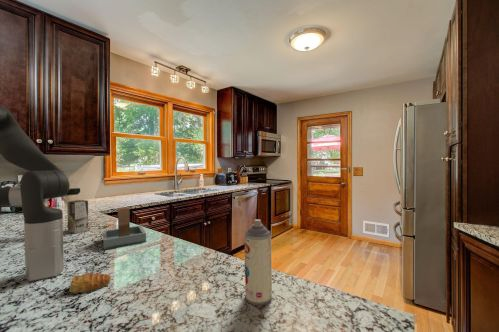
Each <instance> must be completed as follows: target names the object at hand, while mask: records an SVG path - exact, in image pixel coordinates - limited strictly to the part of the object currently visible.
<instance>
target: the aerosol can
mask: <svg viewBox="0 0 499 332" xmlns="http://www.w3.org/2000/svg"><path fill="white" fill-rule="evenodd" d="M253 222H254V223H253V224H252V225H251V226H249V228H247V230H245V232H244V233H245V234H244V278H245V279H244V285H245V286H244V287H245V288H244V289H245V294H244V295H245V301H246V302H248V304H250V305H253V306H260V307H261V306H265V305H267V304H270V302H271V301H272V299H273V298H272V297H273V291H272V289H273V284H272V283H273V282H272V279H273V278H272V275H273V274H272V271H273V270H272V234H271V230H269V229H268V228H267V227H266V226H265V225H264V224H263V223H262V220H261V219H257V218H256V219H254V220H253Z"/></svg>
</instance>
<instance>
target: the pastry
mask: <svg viewBox="0 0 499 332" xmlns="http://www.w3.org/2000/svg"><path fill="white" fill-rule="evenodd" d="M111 278H112V277H111V276H110V275H108V274H105V273H99V272H96V273H95V272H94V273H93V272H89V273H83V274H80V275H74V276H73V277H72V279H71V282H70V284H69V285H70V286H69V289H68V292H70V293H71V294H76V295H78V294H79V293H82V294H83V293H88V292H92V291H96V290H99V289H102V288H103V287H106V286H108V285H109V284H110V283H111Z"/></svg>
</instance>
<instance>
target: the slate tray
mask: <svg viewBox="0 0 499 332" xmlns="http://www.w3.org/2000/svg"><path fill="white" fill-rule="evenodd" d="M102 233H103V234H102V235H103V236H102V237H103V242H102V243H103V250H104V251H105V250H110V249H116V248H121V247H127V246H133V245H138V244H144V243H147V232H146V231H145V230H144V228H143V227H142V225H135V226H130V235H128V236H122V237H118V228H114V229H109V230H103V231H102Z"/></svg>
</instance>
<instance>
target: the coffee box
mask: <svg viewBox="0 0 499 332" xmlns="http://www.w3.org/2000/svg"><path fill="white" fill-rule="evenodd" d="M66 205H67V207H66V208H67V231H68V232H69V233H73V234H79V233H83V232H88V231H89V201H88V200H86V199H77V200H76V199H75V200H70V201H68V200H67V202H66Z"/></svg>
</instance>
